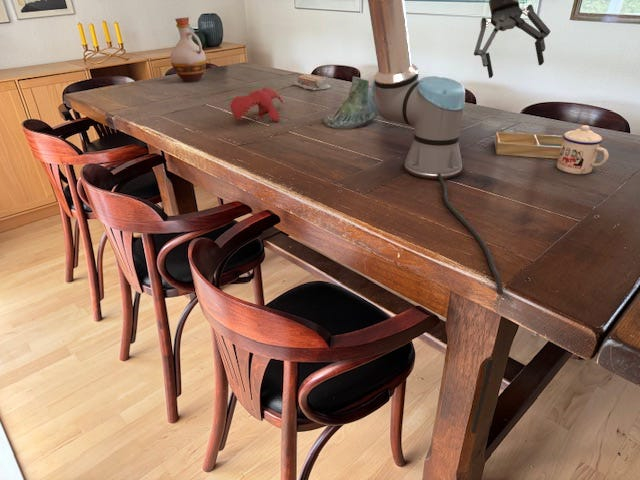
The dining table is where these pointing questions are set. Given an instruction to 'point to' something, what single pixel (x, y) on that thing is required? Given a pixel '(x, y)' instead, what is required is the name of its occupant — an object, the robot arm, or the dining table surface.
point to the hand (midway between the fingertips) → (516, 70)
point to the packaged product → (312, 82)
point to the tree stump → (353, 108)
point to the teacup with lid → (580, 151)
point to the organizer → (528, 145)
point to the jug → (187, 54)
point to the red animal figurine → (259, 98)
